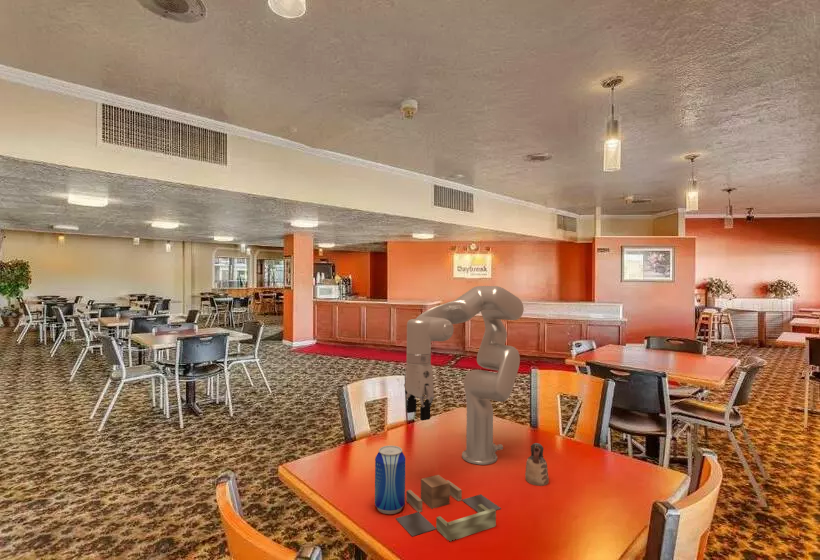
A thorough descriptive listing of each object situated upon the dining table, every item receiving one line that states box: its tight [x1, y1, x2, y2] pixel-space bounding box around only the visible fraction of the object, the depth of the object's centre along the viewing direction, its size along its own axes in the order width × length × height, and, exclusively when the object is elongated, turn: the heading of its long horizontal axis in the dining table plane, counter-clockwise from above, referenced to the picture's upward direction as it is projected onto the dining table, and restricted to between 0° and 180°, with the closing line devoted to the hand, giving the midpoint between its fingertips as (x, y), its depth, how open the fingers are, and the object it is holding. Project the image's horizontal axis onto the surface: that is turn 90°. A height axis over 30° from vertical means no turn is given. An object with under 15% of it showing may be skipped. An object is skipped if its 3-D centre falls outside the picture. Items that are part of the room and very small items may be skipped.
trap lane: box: [395, 479, 502, 542], centre depth 115 cm, size 28×22×4 cm
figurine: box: [524, 442, 550, 487], centre depth 135 cm, size 7×7×12 cm
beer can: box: [374, 445, 406, 515], centre depth 118 cm, size 8×8×16 cm
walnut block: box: [420, 474, 451, 510], centre depth 121 cm, size 6×6×6 cm
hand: (418, 415), depth 130 cm, fingers open, 7 cm apart
